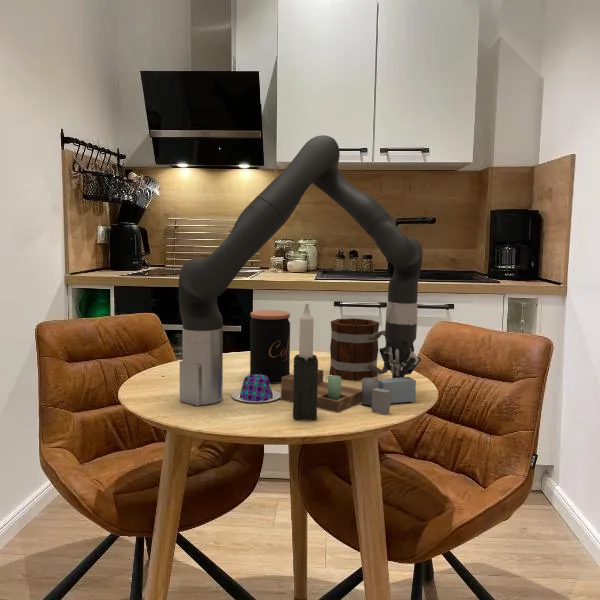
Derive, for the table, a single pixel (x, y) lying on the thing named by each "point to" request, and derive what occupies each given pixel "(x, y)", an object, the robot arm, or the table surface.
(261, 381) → the pudding
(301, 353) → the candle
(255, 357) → the coffee jar
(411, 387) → the hinged leg
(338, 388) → the dowel leg
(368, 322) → the mug
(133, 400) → the table surface
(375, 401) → the block
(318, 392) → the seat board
